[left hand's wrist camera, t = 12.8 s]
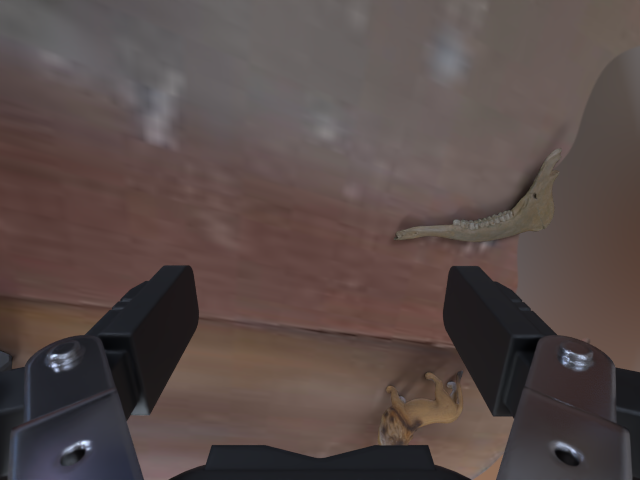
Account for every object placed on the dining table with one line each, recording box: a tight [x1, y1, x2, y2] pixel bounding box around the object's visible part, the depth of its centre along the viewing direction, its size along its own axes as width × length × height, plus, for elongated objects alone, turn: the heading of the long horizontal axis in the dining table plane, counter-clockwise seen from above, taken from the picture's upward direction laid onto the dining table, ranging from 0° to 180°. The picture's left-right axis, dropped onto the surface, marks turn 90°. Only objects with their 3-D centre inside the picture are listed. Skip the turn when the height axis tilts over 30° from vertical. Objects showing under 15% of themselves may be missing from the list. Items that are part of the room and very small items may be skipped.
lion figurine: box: [378, 371, 463, 445], centre depth 49 cm, size 15×5×9 cm, turn 121°
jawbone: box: [394, 148, 562, 242], centre depth 43 cm, size 9×20×2 cm, turn 122°
